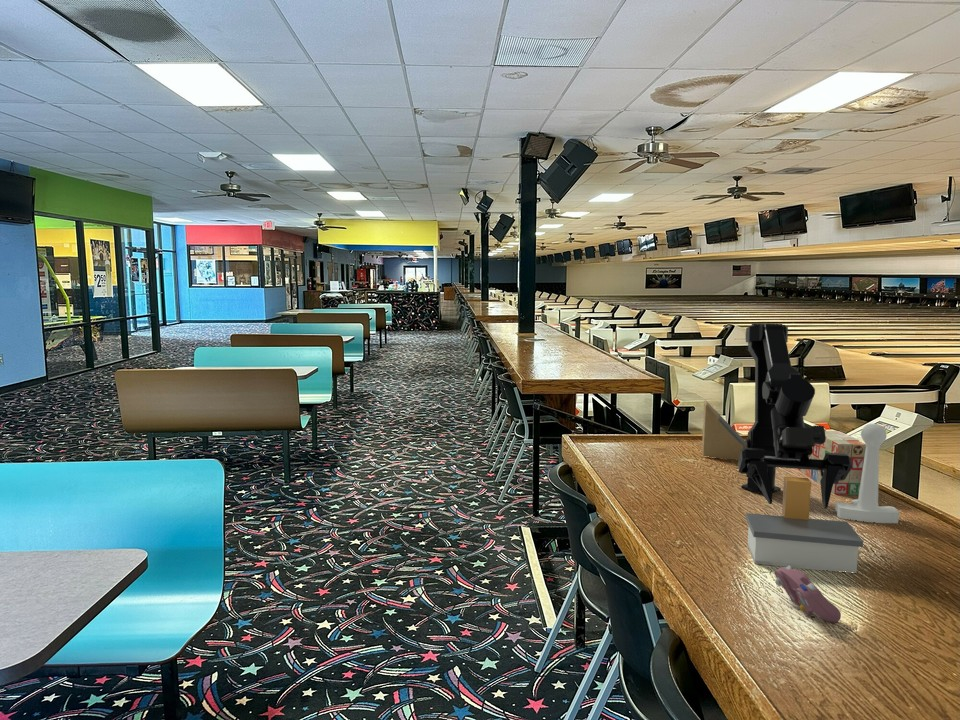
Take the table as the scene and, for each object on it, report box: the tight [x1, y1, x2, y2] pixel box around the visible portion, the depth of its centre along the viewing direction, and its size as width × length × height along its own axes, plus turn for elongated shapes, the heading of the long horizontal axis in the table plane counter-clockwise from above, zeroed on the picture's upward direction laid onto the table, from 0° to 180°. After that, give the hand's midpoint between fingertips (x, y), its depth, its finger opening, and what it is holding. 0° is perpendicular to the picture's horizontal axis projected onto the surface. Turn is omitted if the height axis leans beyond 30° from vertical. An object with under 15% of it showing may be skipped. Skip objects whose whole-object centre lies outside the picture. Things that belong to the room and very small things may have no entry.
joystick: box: [834, 423, 900, 524], centre depth 135 cm, size 11×8×20 cm
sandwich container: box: [701, 399, 746, 461], centre depth 181 cm, size 9×15×15 cm, turn 74°
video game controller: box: [774, 565, 842, 624], centre depth 98 cm, size 10×5×7 cm, turn 5°
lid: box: [745, 476, 864, 548], centre depth 115 cm, size 11×17×9 cm, turn 76°
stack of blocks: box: [798, 430, 866, 496], centre depth 159 cm, size 21×6×12 cm, turn 177°
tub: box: [747, 526, 860, 574], centre depth 115 cm, size 8×16×5 cm, turn 76°
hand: (798, 505), depth 118 cm, fingers open, 9 cm apart
